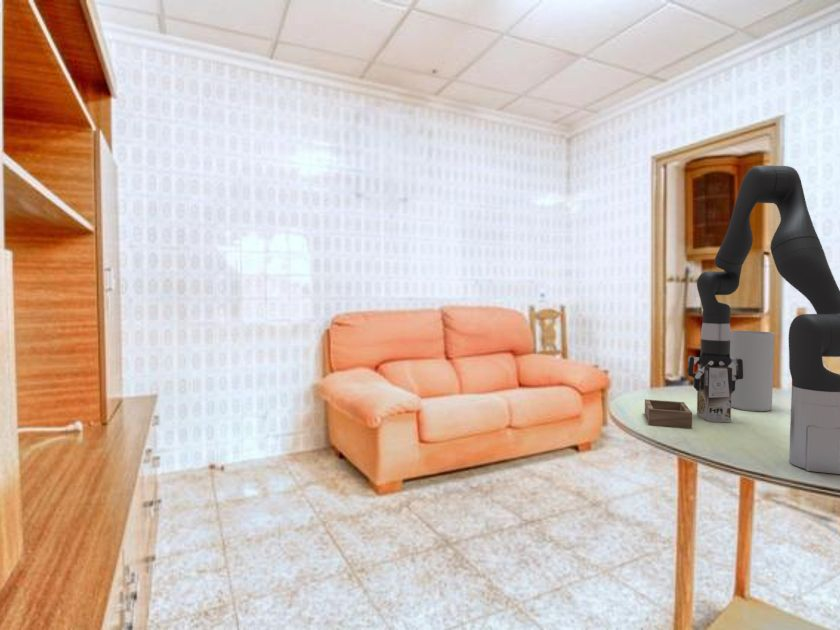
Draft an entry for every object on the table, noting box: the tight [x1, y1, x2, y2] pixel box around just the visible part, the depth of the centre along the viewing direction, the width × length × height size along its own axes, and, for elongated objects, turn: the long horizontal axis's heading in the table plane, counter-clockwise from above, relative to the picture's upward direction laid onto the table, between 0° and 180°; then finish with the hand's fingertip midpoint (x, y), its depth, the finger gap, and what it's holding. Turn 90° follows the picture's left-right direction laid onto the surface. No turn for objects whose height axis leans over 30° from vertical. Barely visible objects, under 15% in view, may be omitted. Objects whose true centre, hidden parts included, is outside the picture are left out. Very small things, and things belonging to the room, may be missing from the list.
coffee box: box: [696, 363, 732, 423], centre depth 143 cm, size 9×6×16 cm
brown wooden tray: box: [644, 398, 693, 430], centre depth 141 cm, size 14×11×4 cm
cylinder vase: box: [728, 330, 775, 413], centre depth 157 cm, size 12×12×25 cm
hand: (713, 391), depth 143 cm, fingers open, 8 cm apart
